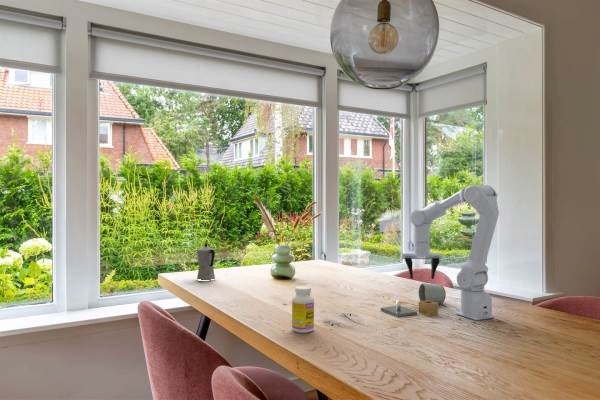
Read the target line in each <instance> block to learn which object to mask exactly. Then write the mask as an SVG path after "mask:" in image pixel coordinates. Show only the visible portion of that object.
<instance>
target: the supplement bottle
mask: <svg viewBox="0 0 600 400" xmlns="http://www.w3.org/2000/svg"><path fill="white" fill-rule="evenodd" d="M294 292H295V295H294V296H292V299H291V329H292V332H295V333H299V334H300V333H301V334H304V333H305V334H306V333H311V332H313V331H314V329H315V298H314V297H313V296H312V295H311V292H312V287H310V286H306V285H302V286H300V285H299V286H296V287H295V291H294Z"/></svg>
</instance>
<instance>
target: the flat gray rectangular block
mask: <svg viewBox="0 0 600 400" xmlns="http://www.w3.org/2000/svg"><path fill="white" fill-rule="evenodd" d="M401 301H402V300H396V305H392V306H384V307H383V306H382V307H380V312H383V313H385V314H386V313H387V314H389V315H390V316H393V317H396V318H402V317H408V316H417V315H418V311H416V310H413V309H410V308H407V307H405V306H402V304H401V303H402V302H401Z"/></svg>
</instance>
